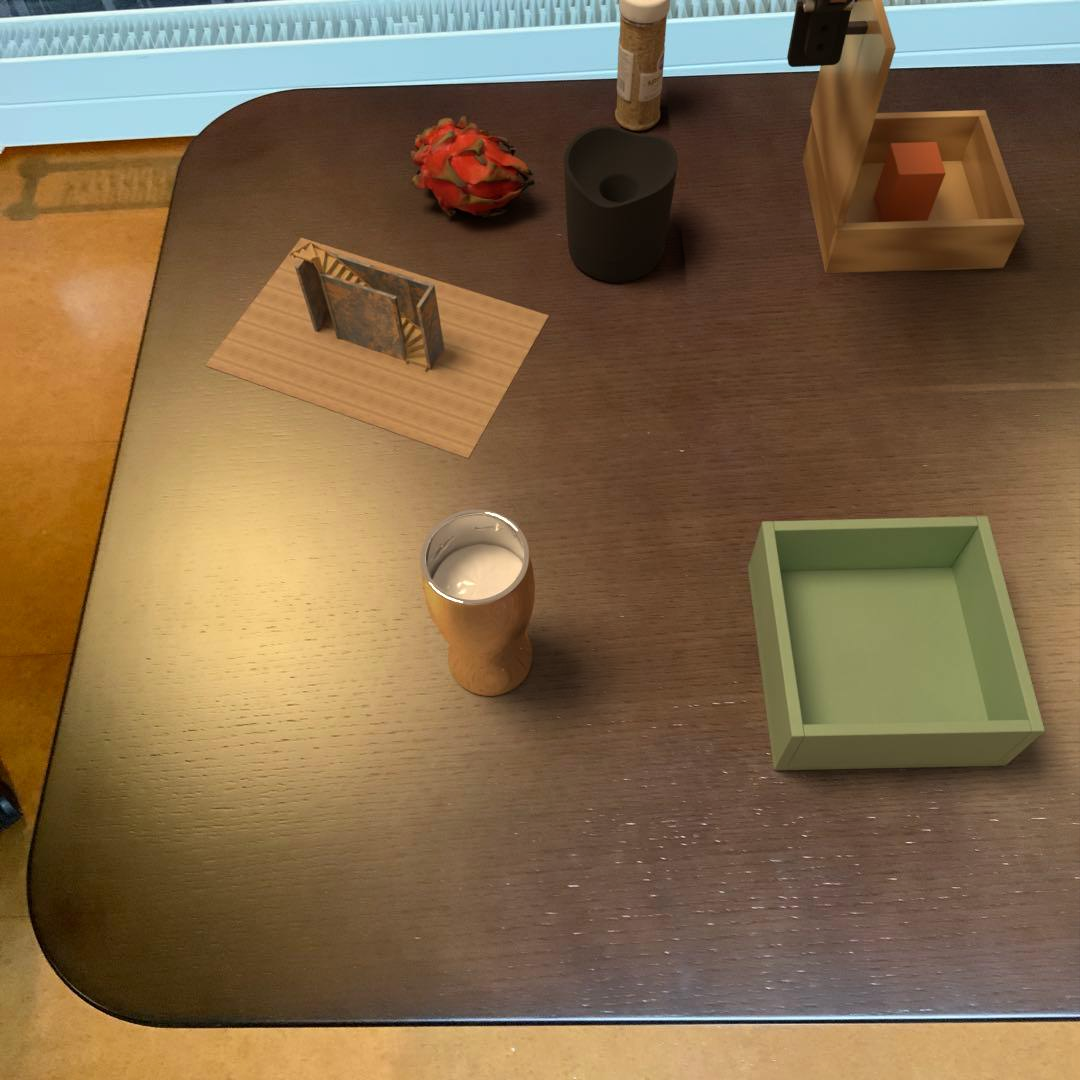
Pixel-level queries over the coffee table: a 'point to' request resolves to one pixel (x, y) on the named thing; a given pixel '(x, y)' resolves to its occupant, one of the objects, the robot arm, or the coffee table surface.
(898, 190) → the block
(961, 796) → the coffee table surface
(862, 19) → the lid
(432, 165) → the dragon fruit
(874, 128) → the chest
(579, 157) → the pen holder
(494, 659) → the beer glass
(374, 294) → the architectural model on board
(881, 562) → the open box
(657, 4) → the spice jar
